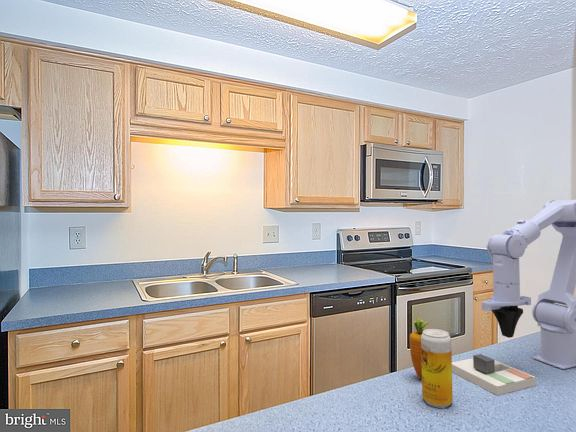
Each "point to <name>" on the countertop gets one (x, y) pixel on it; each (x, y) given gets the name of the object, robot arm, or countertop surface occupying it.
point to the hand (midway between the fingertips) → (507, 336)
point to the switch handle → (483, 364)
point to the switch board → (494, 377)
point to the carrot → (417, 346)
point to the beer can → (436, 368)
